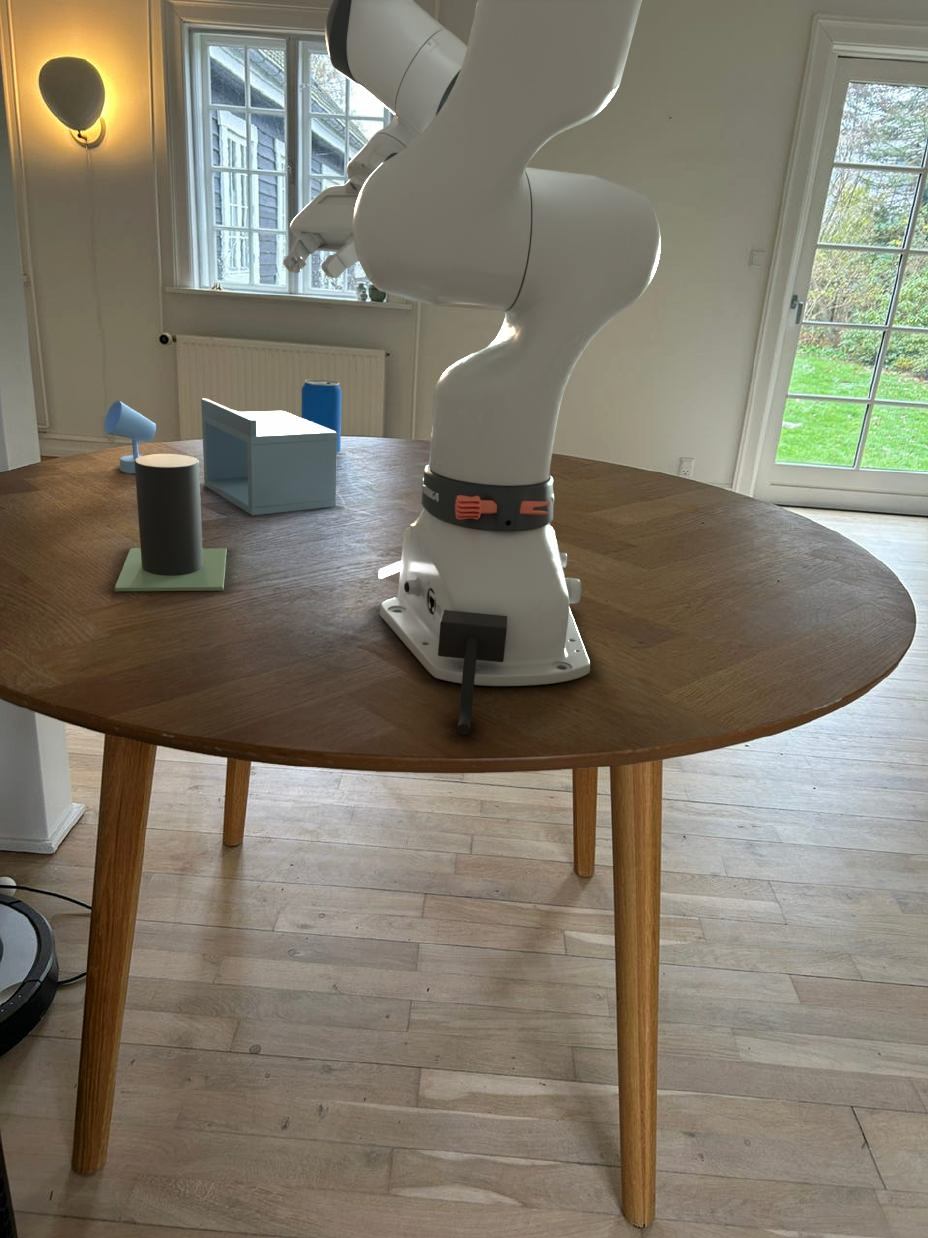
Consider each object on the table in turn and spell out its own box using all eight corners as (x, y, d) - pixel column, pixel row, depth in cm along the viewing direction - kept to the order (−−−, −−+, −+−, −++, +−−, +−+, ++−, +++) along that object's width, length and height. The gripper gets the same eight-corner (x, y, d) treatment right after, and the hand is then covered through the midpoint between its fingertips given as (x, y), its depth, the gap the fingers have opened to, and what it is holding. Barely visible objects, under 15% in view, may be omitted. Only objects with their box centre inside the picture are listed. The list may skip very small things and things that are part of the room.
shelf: (335, 506, 115) (337, 416, 110) (252, 515, 108) (250, 420, 103) (283, 478, 126) (282, 396, 122) (204, 485, 119) (200, 398, 115)
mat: (223, 590, 84) (223, 586, 84) (114, 591, 81) (114, 587, 81) (226, 551, 94) (226, 548, 94) (130, 551, 92) (130, 547, 92)
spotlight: (115, 475, 120) (163, 471, 125) (109, 403, 117) (159, 402, 121) (103, 468, 124) (150, 464, 128) (97, 398, 120) (146, 396, 124)
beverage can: (344, 452, 146) (345, 381, 142) (335, 460, 140) (336, 385, 136) (307, 449, 146) (307, 377, 142) (296, 456, 141) (296, 381, 136)
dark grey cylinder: (201, 575, 86) (197, 468, 82) (138, 575, 85) (130, 466, 80) (204, 556, 91) (200, 454, 87) (145, 556, 90) (138, 452, 86)
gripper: (324, 163, 104) (250, 244, 102) (418, 157, 89) (333, 251, 87) (355, 208, 108) (285, 286, 106) (449, 208, 94) (369, 299, 92)
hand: (307, 270), depth 97 cm, fingers open, 8 cm apart
